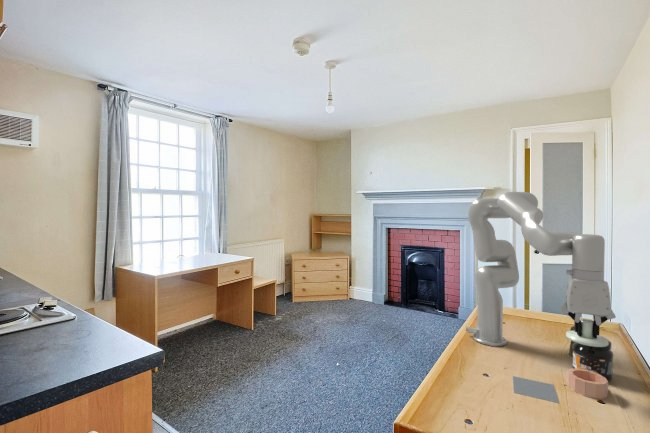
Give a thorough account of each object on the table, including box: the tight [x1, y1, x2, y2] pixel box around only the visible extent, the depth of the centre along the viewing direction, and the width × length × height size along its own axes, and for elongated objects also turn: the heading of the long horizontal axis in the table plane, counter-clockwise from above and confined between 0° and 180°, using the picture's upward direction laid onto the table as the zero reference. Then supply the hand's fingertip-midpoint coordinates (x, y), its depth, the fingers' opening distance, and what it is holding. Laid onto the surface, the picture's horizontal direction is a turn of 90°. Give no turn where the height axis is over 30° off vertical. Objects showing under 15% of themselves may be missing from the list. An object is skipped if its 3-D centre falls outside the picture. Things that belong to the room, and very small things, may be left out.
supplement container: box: [571, 339, 614, 382], centre depth 108 cm, size 10×10×12 cm
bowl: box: [566, 367, 609, 400], centre depth 98 cm, size 9×9×5 cm
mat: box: [512, 375, 560, 404], centre depth 98 cm, size 11×11×1 cm
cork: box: [568, 325, 575, 358], centre depth 122 cm, size 6×6×11 cm
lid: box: [565, 318, 610, 347], centre depth 97 cm, size 10×10×6 cm
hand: (586, 335), depth 98 cm, fingers closed on lid, 3 cm apart
